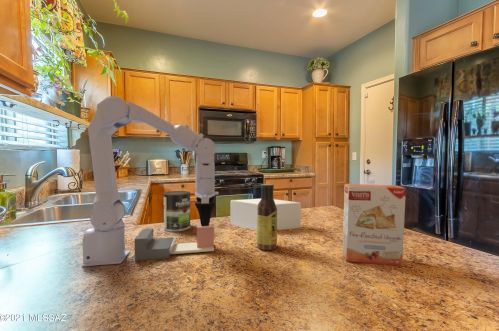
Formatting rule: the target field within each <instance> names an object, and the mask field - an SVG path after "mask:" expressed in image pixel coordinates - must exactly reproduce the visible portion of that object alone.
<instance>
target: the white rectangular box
mask: <svg viewBox="0 0 499 331" xmlns="http://www.w3.org/2000/svg"><path fill="white" fill-rule="evenodd" d="M273 199H274V202H275V205H276V208H277V231H280V230H291V229H293V230H294V229H301V226H302V202H298V201H291V200H290V201H289V200H283V199H277V198H273ZM260 200H261V198H248V199H246V198H245V199H231V200H230V208H229V209H230V210H229V211H230V212H229V213H230V214H229V215H230V225H233V226H237V227H241V228H246V229H251V230H255V231H257V214H258V204H259V202H260Z"/></svg>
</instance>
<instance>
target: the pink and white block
mask: <svg viewBox="0 0 499 331" xmlns="http://www.w3.org/2000/svg"><path fill="white" fill-rule="evenodd" d="M214 230H215V226H214V224H209V226H201V224H198V225H196V242H183V243H175V245H174V248H173V251H172V252H170V255H177V254H178V255H179V254H188V253H189V254H191V253H201V252H214V251H215V244H214V243H215V233H214V232H215V231H214Z"/></svg>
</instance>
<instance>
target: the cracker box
mask: <svg viewBox="0 0 499 331" xmlns="http://www.w3.org/2000/svg"><path fill="white" fill-rule="evenodd" d="M343 187H344V189H343V190H344V193H343V194H344V195H343V196H344V198H343V223H342V224H343V226H342V228H343V229H342V255H343V256H344V259H345V261H346V262H351V263H352V262H353V263H364V264H371V265H373V264H375V265H385V266H396V267H403V258H404V255H403V254H404V236H405V235H404V234H405V213H406V212H405V211H406V195H407V194H406V193H407V192H406V191H407V190H406V188H405V187H403V186H400V185H396V184H395V185H393V184H391V185H390V184H372V183H371V184H369V183H368V184H367V183H366V184H364V183H344V186H343Z"/></svg>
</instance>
